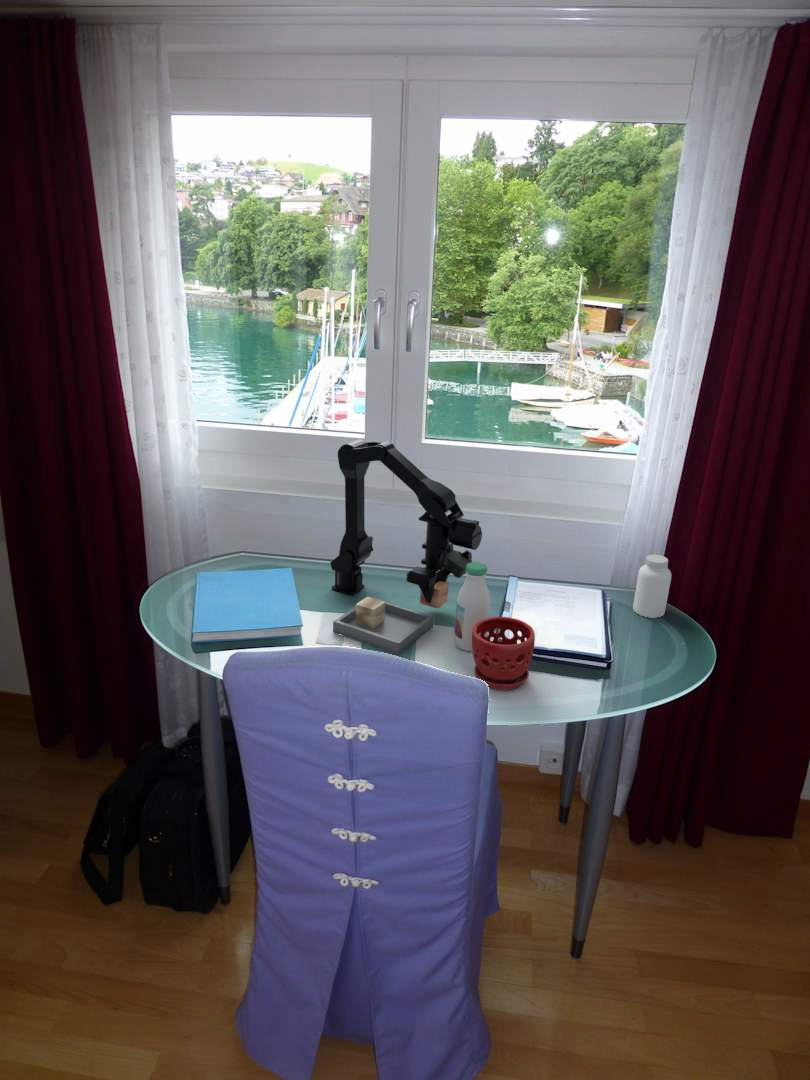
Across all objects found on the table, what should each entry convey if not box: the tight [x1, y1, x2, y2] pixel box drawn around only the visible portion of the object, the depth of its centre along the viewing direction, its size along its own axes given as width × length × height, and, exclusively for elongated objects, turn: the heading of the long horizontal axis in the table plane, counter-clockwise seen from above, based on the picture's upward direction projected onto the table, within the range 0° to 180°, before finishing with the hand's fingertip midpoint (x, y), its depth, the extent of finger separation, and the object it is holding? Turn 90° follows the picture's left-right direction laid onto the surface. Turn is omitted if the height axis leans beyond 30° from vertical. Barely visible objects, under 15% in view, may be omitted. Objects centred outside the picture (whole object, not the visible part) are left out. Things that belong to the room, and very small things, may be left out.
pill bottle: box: [632, 554, 672, 619], centre depth 206 cm, size 8×8×15 cm
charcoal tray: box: [332, 596, 435, 656], centre depth 193 cm, size 18×16×3 cm
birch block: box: [355, 596, 386, 629], centre depth 194 cm, size 5×5×5 cm
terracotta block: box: [419, 581, 450, 609], centre depth 201 cm, size 5×5×5 cm
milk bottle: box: [453, 561, 491, 653], centre depth 185 cm, size 8×8×20 cm
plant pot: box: [472, 616, 536, 690], centre depth 173 cm, size 13×13×12 cm
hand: (433, 598), depth 202 cm, fingers closed on terracotta block, 5 cm apart
